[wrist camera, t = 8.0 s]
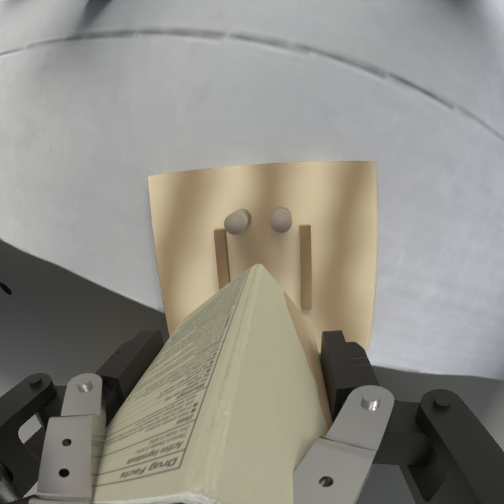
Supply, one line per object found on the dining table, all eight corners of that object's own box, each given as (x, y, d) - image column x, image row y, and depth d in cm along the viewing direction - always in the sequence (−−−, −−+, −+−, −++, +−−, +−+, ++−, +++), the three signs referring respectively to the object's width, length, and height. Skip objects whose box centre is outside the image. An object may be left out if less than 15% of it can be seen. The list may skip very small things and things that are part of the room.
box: (235, 378, 14) (180, 577, 4) (179, 318, 14) (45, 504, 3) (320, 325, 13) (361, 565, 3) (263, 255, 13) (191, 506, 2)
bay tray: (370, 162, 22) (390, 158, 17) (365, 341, 25) (378, 371, 20) (155, 176, 24) (127, 175, 19) (178, 344, 27) (159, 372, 23)
